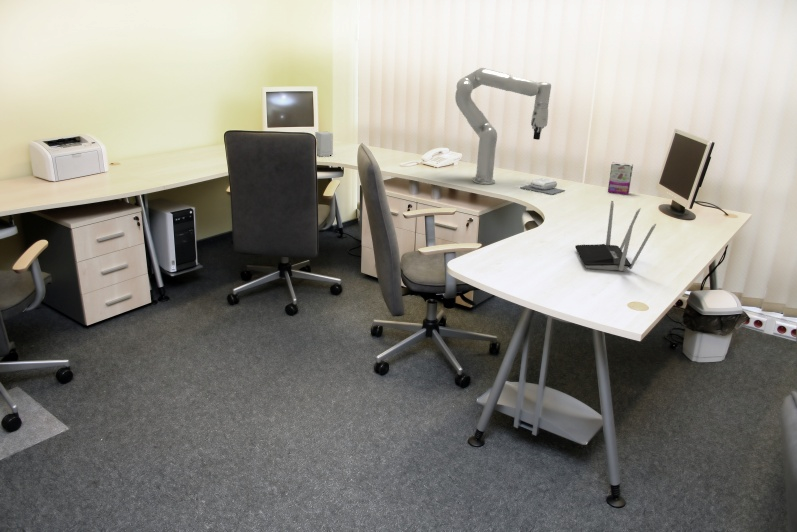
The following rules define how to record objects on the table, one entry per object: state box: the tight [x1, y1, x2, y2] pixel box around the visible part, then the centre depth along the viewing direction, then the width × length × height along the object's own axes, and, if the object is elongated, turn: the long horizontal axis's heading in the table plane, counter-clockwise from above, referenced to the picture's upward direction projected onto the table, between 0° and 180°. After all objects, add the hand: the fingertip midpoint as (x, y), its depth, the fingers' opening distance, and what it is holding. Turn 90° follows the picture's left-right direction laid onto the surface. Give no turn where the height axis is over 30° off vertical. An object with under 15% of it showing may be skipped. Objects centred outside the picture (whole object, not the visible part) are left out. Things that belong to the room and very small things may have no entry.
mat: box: [519, 184, 566, 196], centre depth 363 cm, size 14×20×1 cm
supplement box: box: [314, 131, 334, 157], centre depth 428 cm, size 9×9×15 cm
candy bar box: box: [607, 161, 634, 196], centre depth 360 cm, size 11×5×16 cm, turn 68°
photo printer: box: [529, 177, 558, 190], centre depth 364 cm, size 10×4×12 cm
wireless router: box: [575, 200, 657, 272], centre depth 249 cm, size 34×23×20 cm
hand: (536, 139), depth 366 cm, fingers closed
